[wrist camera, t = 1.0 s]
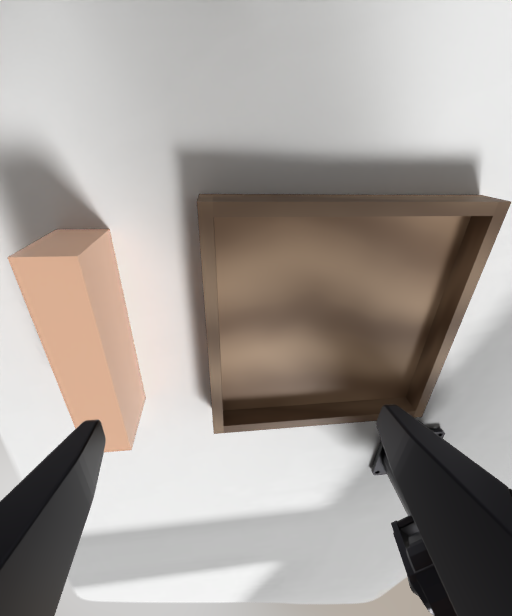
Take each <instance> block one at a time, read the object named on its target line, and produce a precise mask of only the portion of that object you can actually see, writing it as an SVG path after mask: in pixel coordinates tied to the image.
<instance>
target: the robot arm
mask: <svg viewBox="0 0 512 616" xmlns="http://www.w3.org/2000/svg"><path fill="white" fill-rule="evenodd" d="M377 429H378V432H379V435H380V438H381V443H380V446H379V449H378V452H377V455H376V458H375V461H374V464H373V466H372V473H373V474H374V475H383V474H387V475H388V477H389V479H390V481H391V483H392V485H393V487H394V489H395V491H396V493H397V495H398V497H399V499H400V501H401V503H402V505H403V507H404V509H405V511H406V512H407V514H408V516H407V517H405V518H403V519H401V520H399V521H394V522H392V523H391V525H392V528H393V531H394V532H393V534H394V537H395V540H396V543H397V546H398V549H399V552H400V555H401V557H402V560H403V563H404V566H405V569H406V572H407V576H408V581H409V585H410V588H411V590H412V591H413V593H415V594H416V595H418V596H419V597H420V599H421V600H422V602H423V603H424V605H425V606H426V608H427V609H428V610H429V611H430V613H431V614H432V615H435V616H512V489H509V488H508V487H507V486H506V485H505V484H503V483H502V482H501V481H499V480H498V479H497V478H495V477H494V476H493V475H491V474H490V473H489V472H487V471H486V470H484V469H483V468H482V467H480V466H479V465H478V464H476V463H475V462H474V461H472V460H471V459H470V458H468V457H467V456H465V455H464V454H463V453H461V452H460V451H459V450H457V449H456V448H455V447H453V446H452V445H451V444H449V443H448V442H446V441H445V440H444V439H443V437H444V435H445V433H444V431H443V430H442V429H441V428H438V429H429V428H428V427H426V426H425V425H423V424H422V423H421V422H419V421H418V420H417V419H415V418H414V417H413V416H411V415H410V414H409V413H407V412H406V411H404V410H403V409H402V408H400V407H399V406H398V405H396V404H385V405H383V406H382V408H381V410H380V413H379V416H378V419H377ZM105 443H106V438H105V434H104V430H103V427H102V423H101V421H100V420H86V421H84V422H82V423H81V424H80V425H79V426H78V427H77V428H76V429H75V430H74V431H73V432H72V433H71V434H70V435H69V436H68V437H67V438H66V439H65V440H64V441H63V442H62V443H61V444H60V445H58V446H57V447H56V448H55V449H54V450H53V451H52V452H51V453H50V454H49V455H48V456H47V457H46V458H45V459H44V460H43V461H42V462H41V463H40V464H39V465H38V466H37V467H36V468H35V469H34V470H33V471H32V472H30V473H29V474H28V475H27V476H26V477H25V478H24V479H23V480H22V481H21V482H20V483H19V484H18V485H17V486H16V487H15V488H14V489H13V490H12V491H11V492H10V493H9V494H8V495H7V496H6V497H5V498H4V499H3V500H1V501H0V616H54V615H55V612H56V609H57V606H58V603H59V600H60V597H61V594H62V591H63V588H64V585H65V582H66V579H67V576H68V573H69V570H70V567H71V564H72V561H73V558H74V555H75V552H76V549H77V546H78V543H79V540H80V537H81V534H82V531H83V528H84V525H85V522H86V519H87V516H88V513H89V510H90V507H91V504H92V501H93V497H94V493H95V489H96V485H97V480H98V476H99V471H100V466H101V462H102V457H103V453H104V448H105Z"/></svg>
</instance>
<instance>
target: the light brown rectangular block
mask: <svg viewBox="0 0 512 616" xmlns="http://www.w3.org/2000/svg"><path fill="white" fill-rule="evenodd" d="M8 260H9V262H10V265H11V267H12V270H13V272H14V275H15V277H16V280H17V282H18V285H19V287H20V290H21V292H22V295H23V297H24V300H25V302H26V305H27V307H28V310H29V313H30V315H31V318H32V320H33V323H34V325H35V328H36V330H37V333H38V335H39V338H40V340H41V343H42V345H43V348H44V350H45V353H46V355H47V358H48V360H49V363H50V365H51V368H52V370H53V373H54V375H55V378H56V380H57V383H58V386H59V388H60V391H61V393H62V396H63V398H64V401H65V403H66V406H67V408H68V411H69V413H70V416H71V418H72V421H73V423H74V426H75V428H77V427H78V426H79V425H80V424H81V423H82V422H84V421H86V420H100V421H101V423H102V427H103V430H104V434H105V438H106V443H105V448H104V452H113V451H125V450H132V446H133V442H134V439H135V435H136V432H137V428H138V424H139V421H140V417H141V413H142V410H143V406H144V402H145V399H146V397H145V392H144V388H143V383H142V378H141V374H140V369H139V364H138V360H137V355H136V350H135V345H134V341H133V336H132V331H131V327H130V322H129V317H128V313H127V308H126V303H125V299H124V294H123V289H122V285H121V280H120V275H119V271H118V266H117V261H116V257H115V252H114V247H113V243H112V238H111V233H110V229H56V230H54V231H53V232H51V233H49V234H47V235H46V236H44V237H42V238H40V239H39V240H37V241H35V242H33V243H32V244H30V245H28V246H26V247H25V248H23V249H21V250H19V251H18V252H16V253H14V254H12V255H11V256H9V257H8Z"/></svg>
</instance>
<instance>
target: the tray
mask: <svg viewBox="0 0 512 616" xmlns="http://www.w3.org/2000/svg"><path fill="white" fill-rule="evenodd" d="M510 204H511V202H510V201H506V200H501V199H496V198H492V197H487V196H483V195H325V194H199V197H198V200H197V209H198V223H199V236H200V250H201V264H202V277H203V291H204V305H205V319H206V332H207V346H208V360H209V373H210V387H211V401H212V415H213V428H214V434H217V433H229V432H242V431H254V430H266V429H279V428H291V427H304V426H316V425H328V424H341V423H353V422H365V421H377V419H378V416H379V413H380V410H381V408H382V406H383V405H385V404H396V405H398V406H399V407H400V408H402V409H403V410H404V411H406V412H407V413H409V414H410V415H411V416H413V417H414V418H415V417H422V415H423V413H424V410H425V408H426V406H427V403H428V401H429V398H430V396H431V394H432V391H433V389H434V386H435V384H436V382H437V379H438V377H439V374H440V372H441V370H442V367H443V365H444V362H445V360H446V358H447V355H448V353H449V350H450V348H451V346H452V343H453V341H454V338H455V336H456V334H457V331H458V329H459V326H460V324H461V322H462V319H463V317H464V314H465V312H466V309H467V307H468V305H469V302H470V300H471V297H472V295H473V293H474V290H475V288H476V285H477V283H478V281H479V278H480V276H481V273H482V271H483V269H484V266H485V264H486V261H487V259H488V257H489V254H490V252H491V249H492V247H493V245H494V242H495V240H496V237H497V235H498V233H499V230H500V228H501V225H502V223H503V221H504V218H505V216H506V213H507V211H508V209H509V206H510Z"/></svg>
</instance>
